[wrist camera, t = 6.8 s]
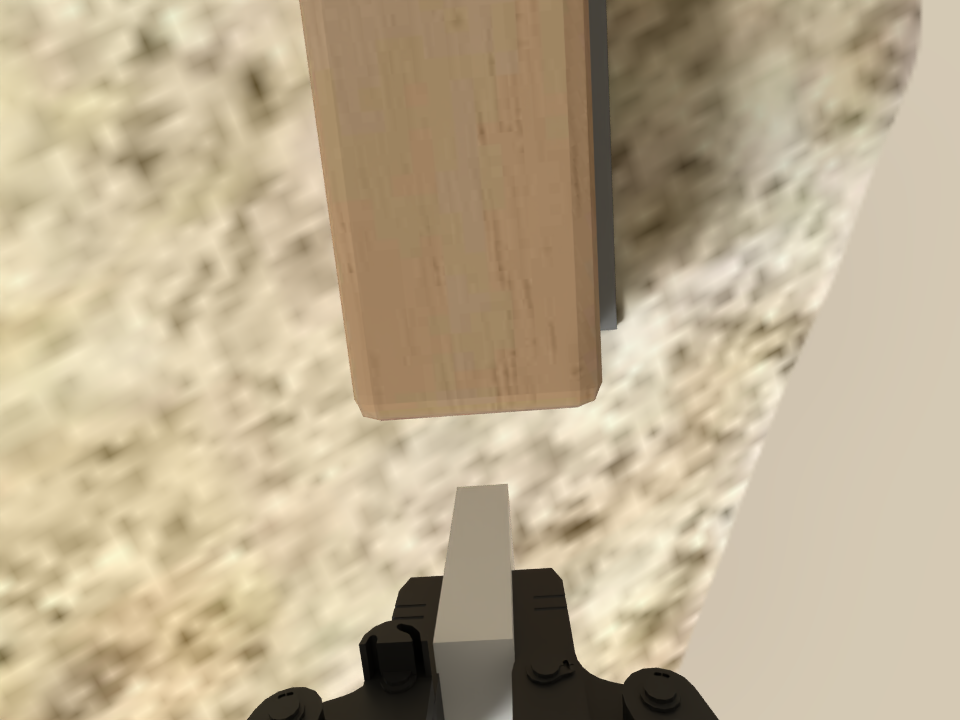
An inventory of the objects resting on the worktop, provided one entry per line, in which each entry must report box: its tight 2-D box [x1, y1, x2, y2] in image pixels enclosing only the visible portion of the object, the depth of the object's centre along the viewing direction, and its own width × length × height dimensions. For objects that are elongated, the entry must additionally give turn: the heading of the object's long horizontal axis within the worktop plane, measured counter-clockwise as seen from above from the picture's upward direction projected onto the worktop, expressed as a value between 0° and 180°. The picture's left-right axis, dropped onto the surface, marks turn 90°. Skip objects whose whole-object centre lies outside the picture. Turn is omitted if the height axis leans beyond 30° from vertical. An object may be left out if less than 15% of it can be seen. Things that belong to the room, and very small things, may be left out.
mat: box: [588, 0, 617, 331], centre depth 30 cm, size 21×14×1 cm, turn 5°
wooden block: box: [299, 0, 602, 421], centre depth 25 cm, size 10×10×20 cm
